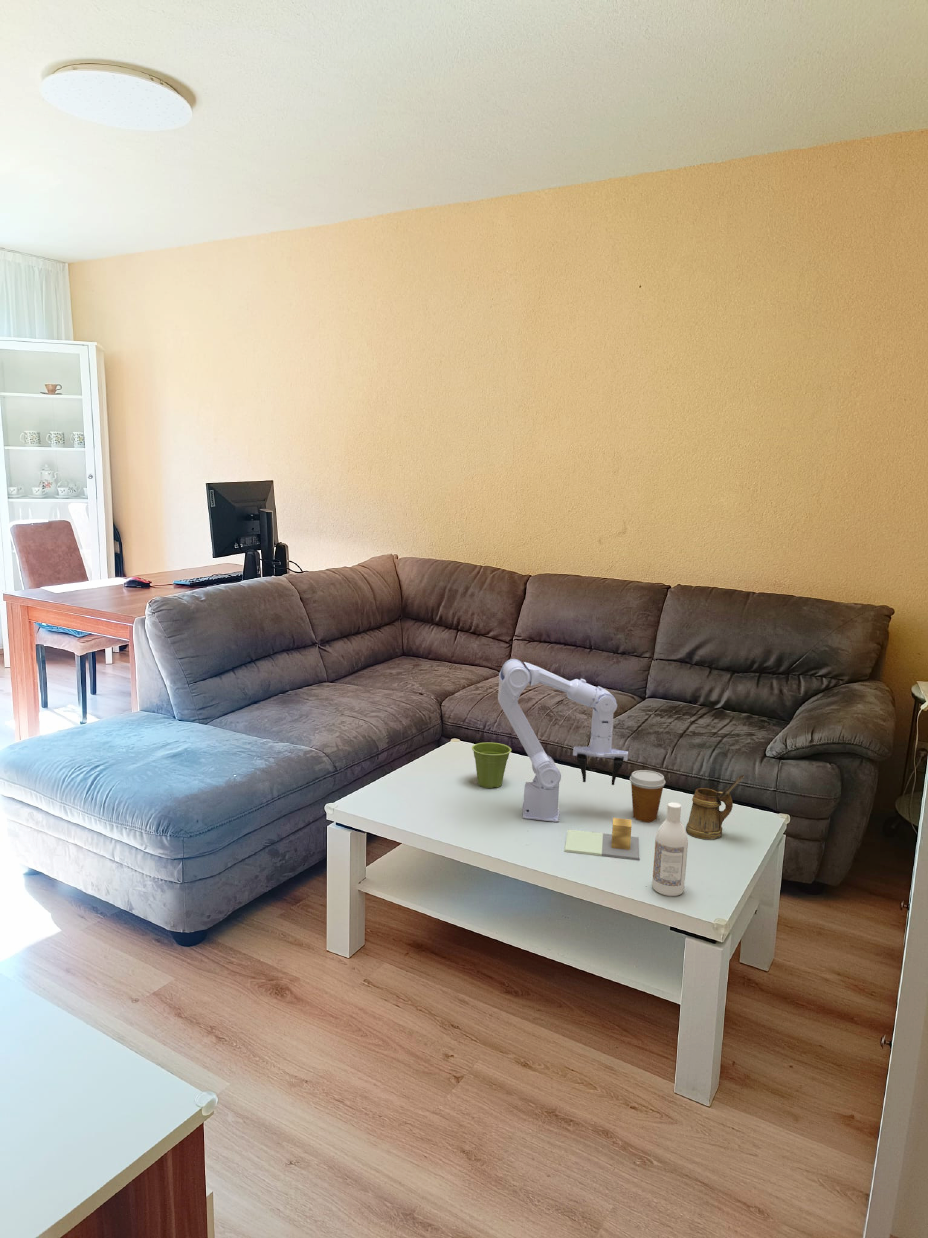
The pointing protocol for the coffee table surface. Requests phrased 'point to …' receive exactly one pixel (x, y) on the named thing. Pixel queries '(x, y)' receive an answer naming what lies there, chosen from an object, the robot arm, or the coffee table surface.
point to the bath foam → (670, 854)
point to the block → (621, 833)
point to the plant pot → (490, 763)
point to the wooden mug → (709, 812)
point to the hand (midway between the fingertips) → (598, 782)
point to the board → (599, 845)
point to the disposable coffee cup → (646, 794)
